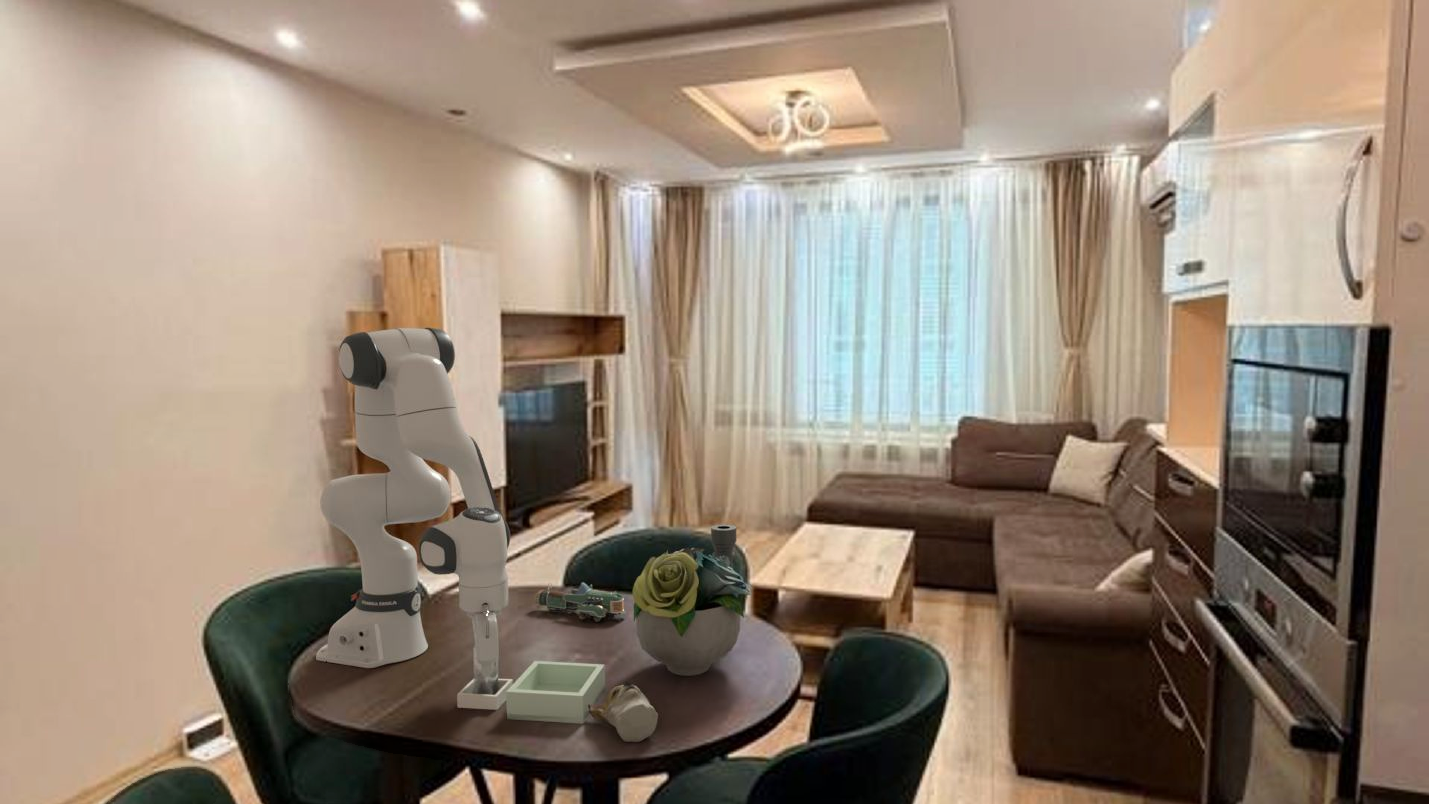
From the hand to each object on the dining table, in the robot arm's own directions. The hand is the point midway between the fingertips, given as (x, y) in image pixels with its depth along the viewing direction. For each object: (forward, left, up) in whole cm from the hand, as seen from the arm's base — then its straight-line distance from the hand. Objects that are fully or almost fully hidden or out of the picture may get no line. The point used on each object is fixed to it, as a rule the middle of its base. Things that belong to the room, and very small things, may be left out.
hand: (485, 668), depth 153 cm
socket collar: (0, 0, -6) cm, 6 cm away
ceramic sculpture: (+29, -8, -6) cm, 31 cm away
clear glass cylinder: (0, 0, -5) cm, 5 cm away
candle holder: (+40, +38, -6) cm, 55 cm away
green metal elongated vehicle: (+3, +48, -6) cm, 49 cm away
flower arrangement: (+35, +19, -6) cm, 40 cm away
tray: (+14, 0, -6) cm, 15 cm away
